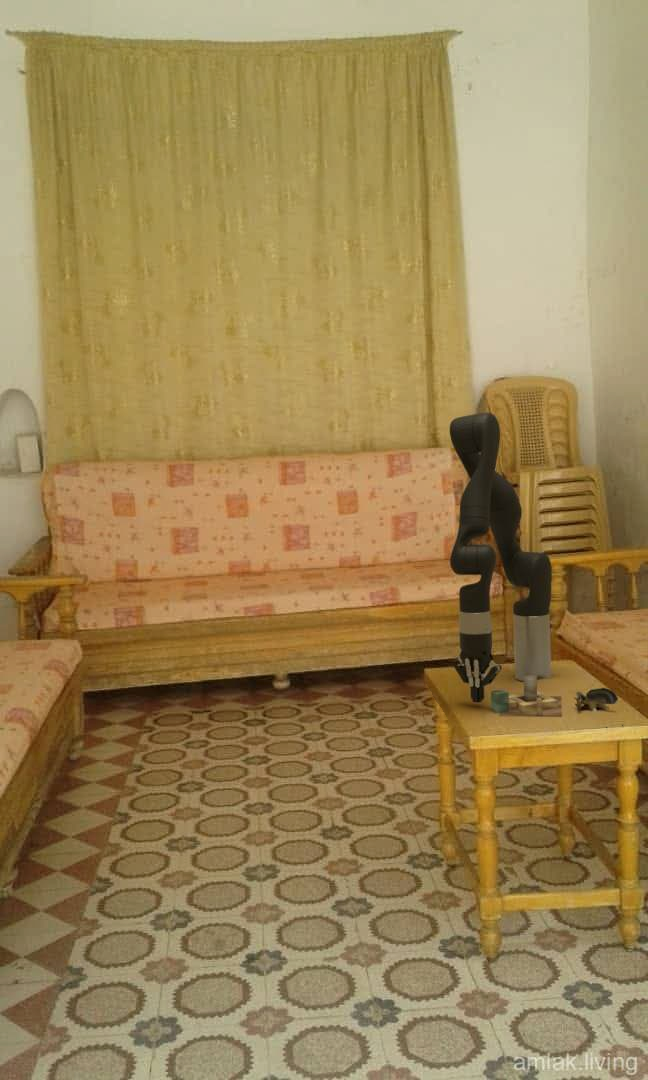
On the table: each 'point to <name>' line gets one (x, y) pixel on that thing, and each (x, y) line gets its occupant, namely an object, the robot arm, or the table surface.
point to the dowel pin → (539, 706)
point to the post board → (534, 714)
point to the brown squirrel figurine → (596, 699)
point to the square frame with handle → (519, 702)
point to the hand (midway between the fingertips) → (477, 701)
